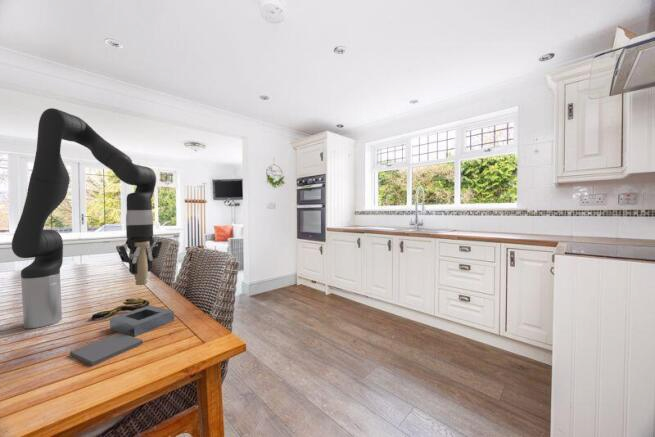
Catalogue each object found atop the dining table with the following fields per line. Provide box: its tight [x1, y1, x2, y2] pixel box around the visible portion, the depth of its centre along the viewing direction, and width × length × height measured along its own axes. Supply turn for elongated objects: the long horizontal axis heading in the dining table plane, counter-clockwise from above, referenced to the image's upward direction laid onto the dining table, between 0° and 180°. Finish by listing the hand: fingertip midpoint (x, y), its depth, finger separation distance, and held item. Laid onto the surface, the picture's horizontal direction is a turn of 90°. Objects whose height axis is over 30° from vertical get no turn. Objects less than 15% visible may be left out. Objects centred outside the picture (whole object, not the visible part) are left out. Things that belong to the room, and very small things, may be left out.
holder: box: [109, 304, 175, 338], centre depth 90 cm, size 14×13×4 cm
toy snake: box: [91, 297, 150, 320], centre depth 102 cm, size 18×5×10 cm
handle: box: [134, 241, 149, 286], centre depth 89 cm, size 5×6×15 cm
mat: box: [69, 332, 144, 366], centre depth 74 cm, size 12×12×1 cm
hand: (141, 272), depth 90 cm, fingers closed on handle, 4 cm apart
